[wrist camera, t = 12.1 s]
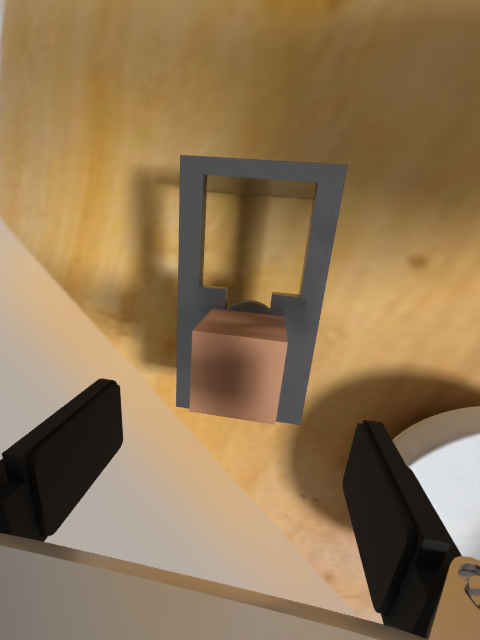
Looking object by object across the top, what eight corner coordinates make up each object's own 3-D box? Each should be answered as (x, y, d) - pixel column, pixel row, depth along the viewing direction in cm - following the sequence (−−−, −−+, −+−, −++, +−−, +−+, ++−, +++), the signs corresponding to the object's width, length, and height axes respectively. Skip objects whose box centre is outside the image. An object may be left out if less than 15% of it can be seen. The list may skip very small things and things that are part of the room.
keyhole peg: (283, 304, 21) (290, 340, 13) (275, 361, 23) (276, 426, 15) (221, 297, 22) (190, 328, 14) (217, 353, 23) (187, 412, 15)
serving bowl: (304, 471, 29) (313, 537, 22) (463, 331, 23) (539, 367, 16) (443, 569, 31) (490, 658, 24) (626, 464, 24) (757, 545, 18)
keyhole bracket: (204, 178, 22) (180, 155, 16) (326, 186, 21) (347, 165, 15) (196, 371, 27) (176, 406, 21) (294, 385, 26) (300, 425, 20)
